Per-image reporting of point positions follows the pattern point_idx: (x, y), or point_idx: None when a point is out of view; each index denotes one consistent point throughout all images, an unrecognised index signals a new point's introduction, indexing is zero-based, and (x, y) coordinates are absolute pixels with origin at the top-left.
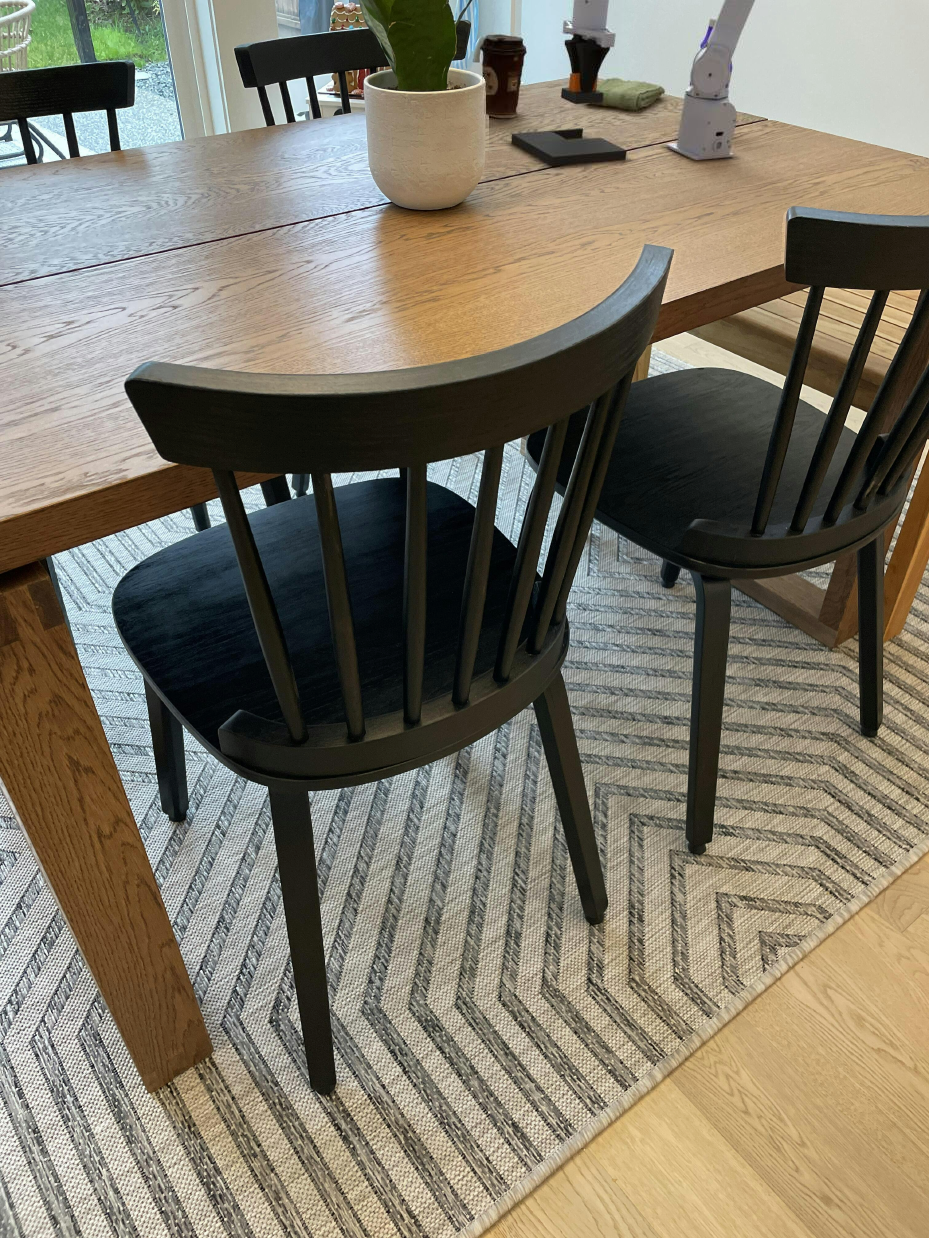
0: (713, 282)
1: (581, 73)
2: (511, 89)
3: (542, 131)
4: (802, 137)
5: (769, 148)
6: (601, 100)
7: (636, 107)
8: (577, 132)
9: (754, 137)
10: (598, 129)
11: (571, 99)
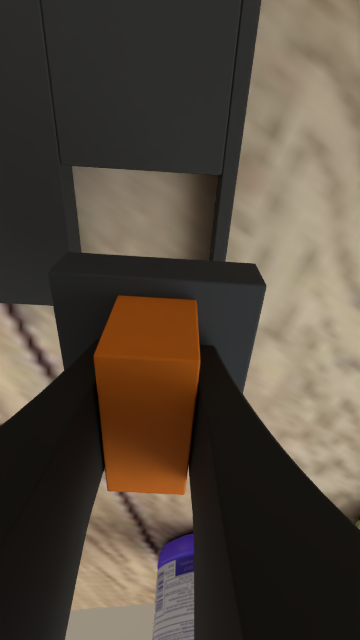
0: None
1: (52, 398)
2: None
3: (239, 129)
4: (75, 593)
5: None
6: None
7: (356, 524)
8: None
9: (91, 560)
10: (272, 389)
11: (115, 260)
